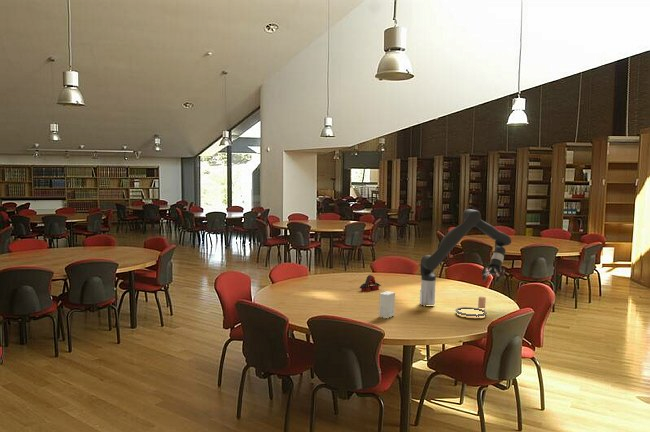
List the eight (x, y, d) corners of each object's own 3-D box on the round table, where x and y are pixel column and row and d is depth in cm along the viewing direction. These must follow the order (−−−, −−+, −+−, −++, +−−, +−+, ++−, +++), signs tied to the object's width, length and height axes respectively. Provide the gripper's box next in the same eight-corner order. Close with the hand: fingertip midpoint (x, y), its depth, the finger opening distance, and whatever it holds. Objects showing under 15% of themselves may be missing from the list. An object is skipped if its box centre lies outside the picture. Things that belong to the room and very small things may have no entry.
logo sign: (362, 292, 372) (362, 276, 371) (359, 291, 375) (359, 276, 374) (381, 289, 382) (381, 274, 381) (378, 288, 385) (378, 273, 384)
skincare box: (386, 314, 314) (387, 290, 313) (394, 316, 310) (395, 292, 308) (378, 317, 308) (379, 292, 306) (386, 319, 304) (387, 294, 302)
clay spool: (479, 311, 326) (479, 298, 326) (477, 309, 331) (477, 296, 330) (485, 311, 326) (486, 298, 326) (483, 309, 331) (484, 296, 330)
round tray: (459, 318, 308) (459, 314, 308) (452, 310, 326) (453, 306, 326) (489, 319, 308) (490, 315, 308) (481, 311, 326) (481, 307, 325)
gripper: (484, 257, 345) (477, 277, 338) (505, 258, 336) (498, 280, 329) (488, 263, 350) (481, 283, 343) (508, 265, 341) (502, 286, 333)
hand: (490, 281), depth 336 cm, fingers open, 8 cm apart
